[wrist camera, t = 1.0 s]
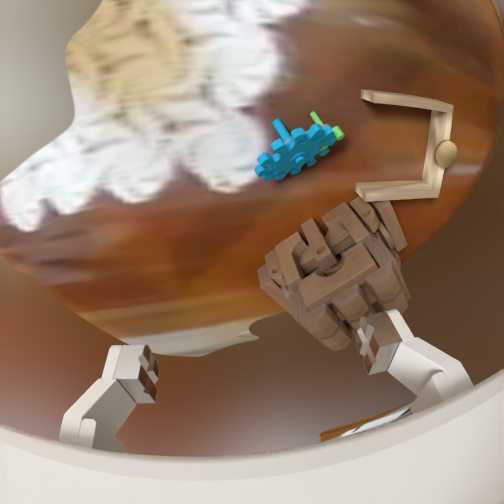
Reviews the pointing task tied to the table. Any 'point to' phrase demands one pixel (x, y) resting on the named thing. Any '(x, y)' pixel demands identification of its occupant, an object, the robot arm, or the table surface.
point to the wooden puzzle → (339, 271)
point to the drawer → (437, 153)
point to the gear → (296, 148)
